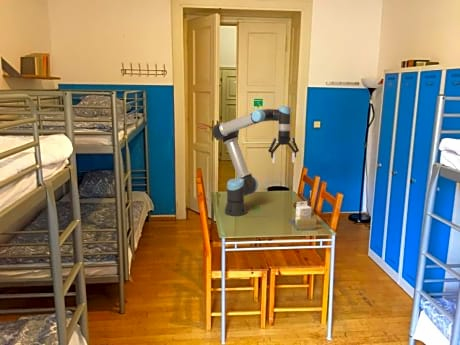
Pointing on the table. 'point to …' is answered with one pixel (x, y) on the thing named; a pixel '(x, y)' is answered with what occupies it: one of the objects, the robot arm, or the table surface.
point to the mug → (302, 203)
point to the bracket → (304, 224)
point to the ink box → (302, 211)
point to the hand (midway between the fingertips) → (283, 162)
